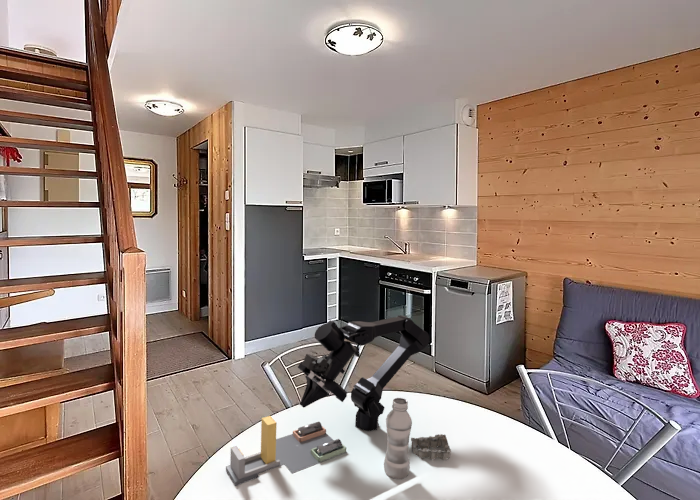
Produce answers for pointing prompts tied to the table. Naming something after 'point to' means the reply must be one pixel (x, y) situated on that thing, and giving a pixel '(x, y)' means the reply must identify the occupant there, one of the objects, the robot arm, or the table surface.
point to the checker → (282, 456)
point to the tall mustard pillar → (268, 439)
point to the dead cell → (309, 429)
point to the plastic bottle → (398, 440)
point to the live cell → (329, 447)
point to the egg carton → (432, 442)
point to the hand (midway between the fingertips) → (301, 406)
